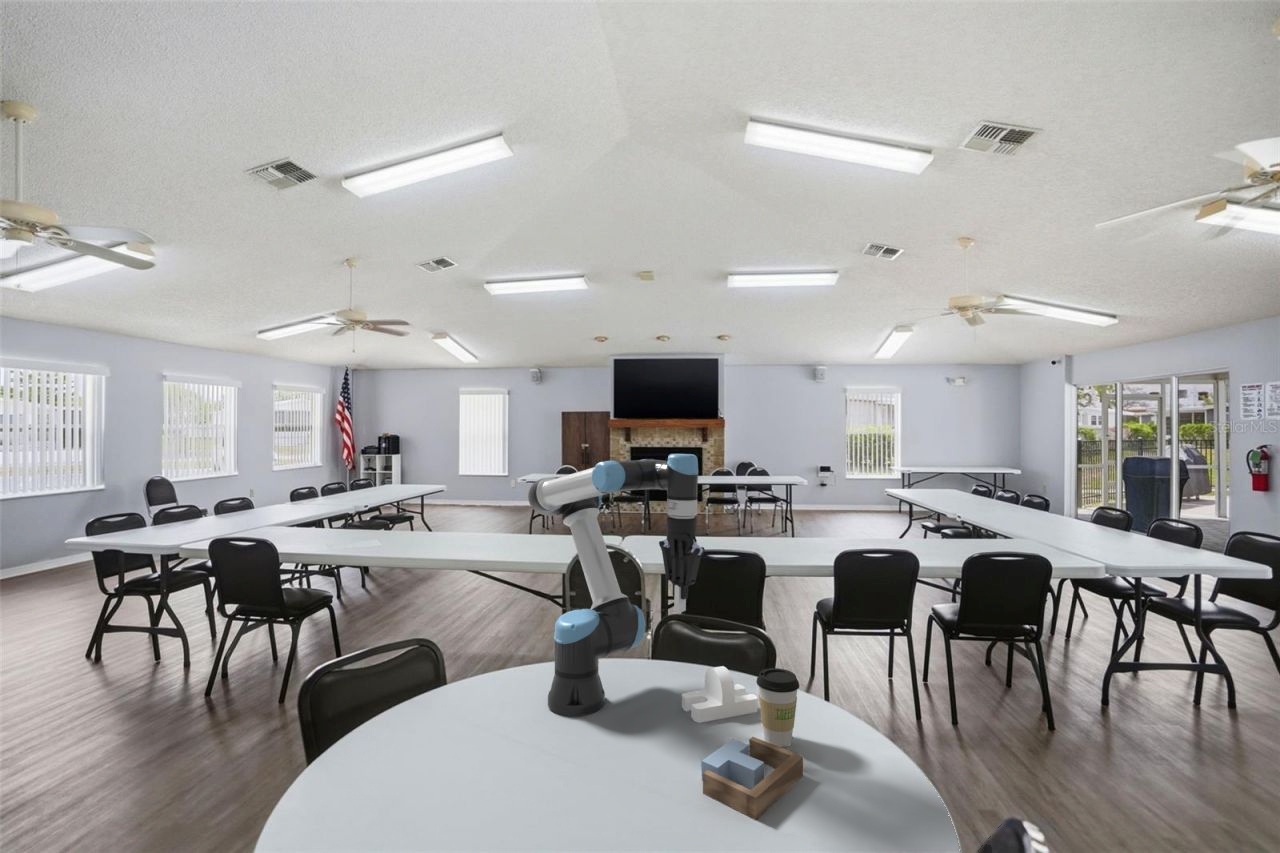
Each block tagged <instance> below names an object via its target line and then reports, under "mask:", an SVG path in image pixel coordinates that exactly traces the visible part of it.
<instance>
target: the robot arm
mask: <svg viewBox="0 0 1280 853" xmlns="http://www.w3.org/2000/svg"><path fill="white" fill-rule="evenodd" d="M699 471H700V470H699V461H698V457H697V455H695V454H691V453H670V454H669V455H668V457H667V460H661V459H654V458H644V459H640V460H639V459H638V460H637V459H636V460H635V459H634V460H605V461H600V462H598V463H596V464H595V466H594V467H591V468H588V469H584V470H580V471H577V472H574V473H571V474H566V475H564V476H552V477H551V476H548V477H544V478H543V477H542V478H540V479H538V480H536V481H535V482H533V484H532V485H531V486H530V488H529V490H528V493H527V494H528V495H527V498H528V502H529V505H530V507H531V508H532V510H534V511H535V512H536V513H538V514H540V515H543V516H546V517H549V516H550V517H551V516H552V517H553V516H560V517H561V520H562V523H563V525H565V526H567V527H569V529H570V531H571V535H572V538H573V541H574V542H573V543H574V544H575V549H576V552H577V555H578V558H579V562H580V565H581V568H582V571H583V574H584V578H585V581H586V584H587V588H588V591H589V594H590V598H591V600H592V605H591V607H590V609H589V608H582V609H574V610H570V611H567V612H565V613H563V614H562V615H560V616H559V617H558V618H557V620H556V622H555V624H554V626H555V627H554V633H553V634H554V635H553V638H554V676H553V679H552V683H551V686H550V690H549V692H548V694H547V708H548V709H549V710H550V711H551V712H553V713H555V714H557V715H561V716H567V717H568V716H569V717H581V716H586V715H591V714H594V713H596V712H597V711H599V710H601V709H603V707H604V706H605V704H606V692H605V690H604V688H603V684H602V680H601V676H600V674H599V659H601V658H605V657H609V656H612V655H615V654H619V653H622V652H627V651H629V650H631V649H633V648H634V649H635V648H636V647H638V646H639V645H640V644H641V643H642V641H643V639H644V637H645V636H644V634H645V632H646V620H645V616H644V613H643V611H642V609H641V608H640V607H639V606H637V605H635V604H631V601H630V598H629V596H627V595H626V594H624V593H622V591H621V588H620V585H619V582H618V579H617V576H616V573H615V570H614V566H613V563H612V559H611V557H610V554H609V552H608V549H607V545H606V542H605V540H604V537H603V532H602V530H601V527H600V524H599V521H598V516H599V514H600V512H601V511H600V508H601V506H602V503H603V500H602V498H603V496H605V495H608V494H614V493H619V492H625V491H639V490H640V491H641V490H643V491H645V490H664V491H666V494H667V496H666V500H667V501H666V507H667V508H666V513H667V517H666V531H667V535H666V538H664V539H663V540H660V541H658V544H659V547H660V550H661V554H662V559H663V560H662V561H663V565H664V573H665V579H666V580H667V581H669V582H671V584H672V598H674V599H673V600H674V602H673V604H674V605H673V606H674V607H673V612H674V613H678V614H679V613H683V612H686V611H687V609H686V608H687V606H686V605H687V604H686V603H687V599H688V598H689V586H691V585H694V584H696V580H697V576H698V572H699V567H700V563H701V557H702V556H703V554H704V553H705V547H703V546H701V545H699V544H698V543H697V541H698V540H697V538H696V533H697V531H698V530H697V529H698V528H697V527H698V519H697V517H695V516H697V515H698V483H699V482H698V481H699Z"/></svg>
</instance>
